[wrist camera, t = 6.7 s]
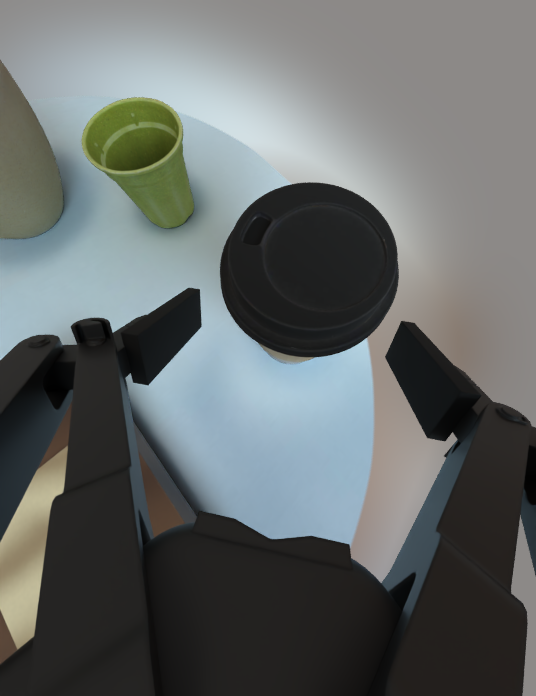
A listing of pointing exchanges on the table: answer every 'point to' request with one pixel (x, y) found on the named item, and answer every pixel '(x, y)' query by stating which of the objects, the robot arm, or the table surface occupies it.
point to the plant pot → (143, 156)
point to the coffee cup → (309, 271)
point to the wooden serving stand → (32, 526)
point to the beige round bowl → (25, 168)
